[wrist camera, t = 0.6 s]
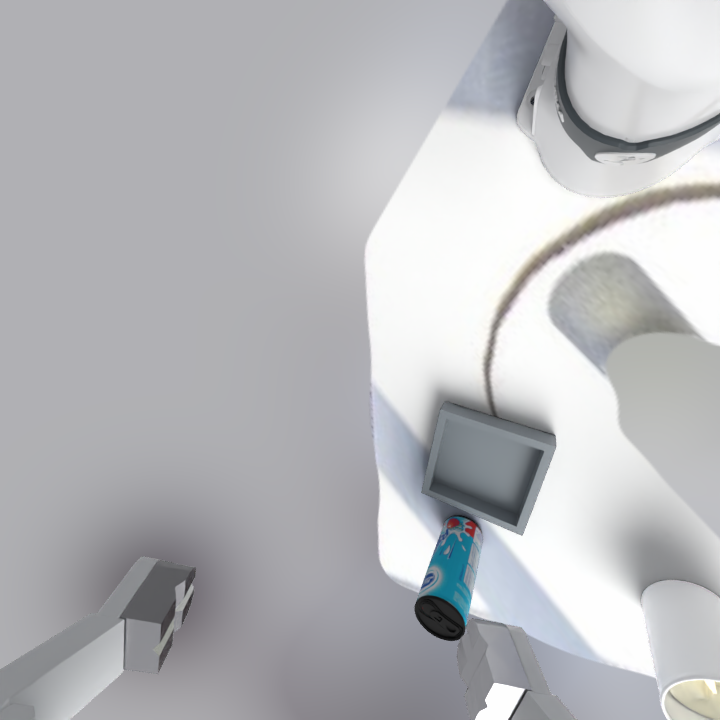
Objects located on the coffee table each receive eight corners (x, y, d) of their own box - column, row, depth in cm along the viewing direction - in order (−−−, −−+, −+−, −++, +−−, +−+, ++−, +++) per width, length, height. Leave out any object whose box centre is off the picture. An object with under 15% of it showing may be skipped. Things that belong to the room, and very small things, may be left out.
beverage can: (461, 506, 52) (435, 590, 39) (492, 536, 51) (476, 631, 38) (436, 524, 55) (404, 608, 42) (465, 553, 54) (442, 647, 41)
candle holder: (621, 615, 45) (645, 721, 35) (648, 560, 42) (683, 659, 32) (719, 657, 41) (778, 790, 31) (757, 599, 38) (837, 727, 28)
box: (445, 401, 48) (440, 409, 46) (555, 435, 43) (556, 447, 40) (427, 480, 53) (421, 492, 51) (523, 520, 48) (522, 535, 45)
